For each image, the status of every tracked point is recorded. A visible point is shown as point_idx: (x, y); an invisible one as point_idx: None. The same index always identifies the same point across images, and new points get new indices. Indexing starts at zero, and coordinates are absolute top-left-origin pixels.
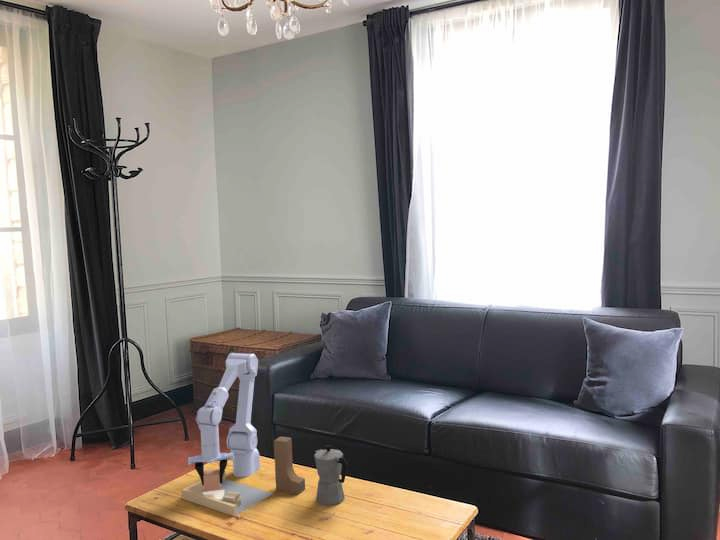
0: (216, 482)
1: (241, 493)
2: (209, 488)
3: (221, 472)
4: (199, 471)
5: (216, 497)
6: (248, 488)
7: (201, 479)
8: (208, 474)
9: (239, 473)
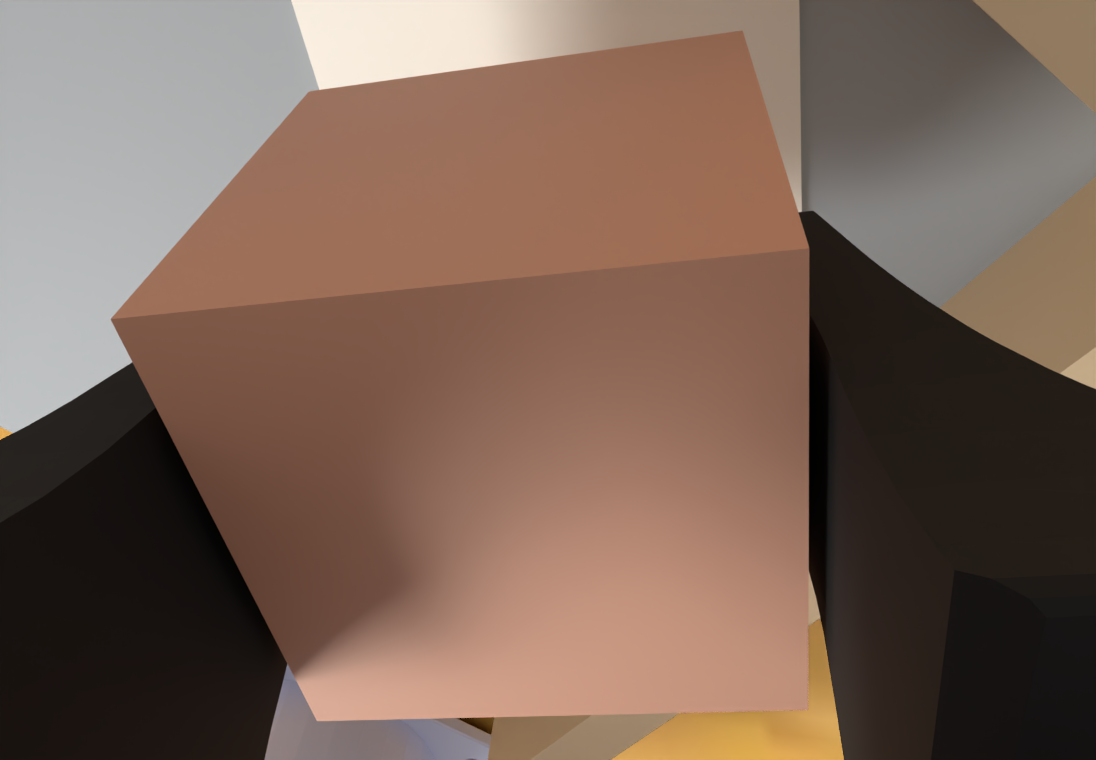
0: (332, 167)
1: (22, 198)
2: (584, 74)
3: (65, 443)
4: (1084, 443)
5: (466, 61)
6: (1, 370)
7: (877, 280)
8: (591, 388)
9: (300, 739)
